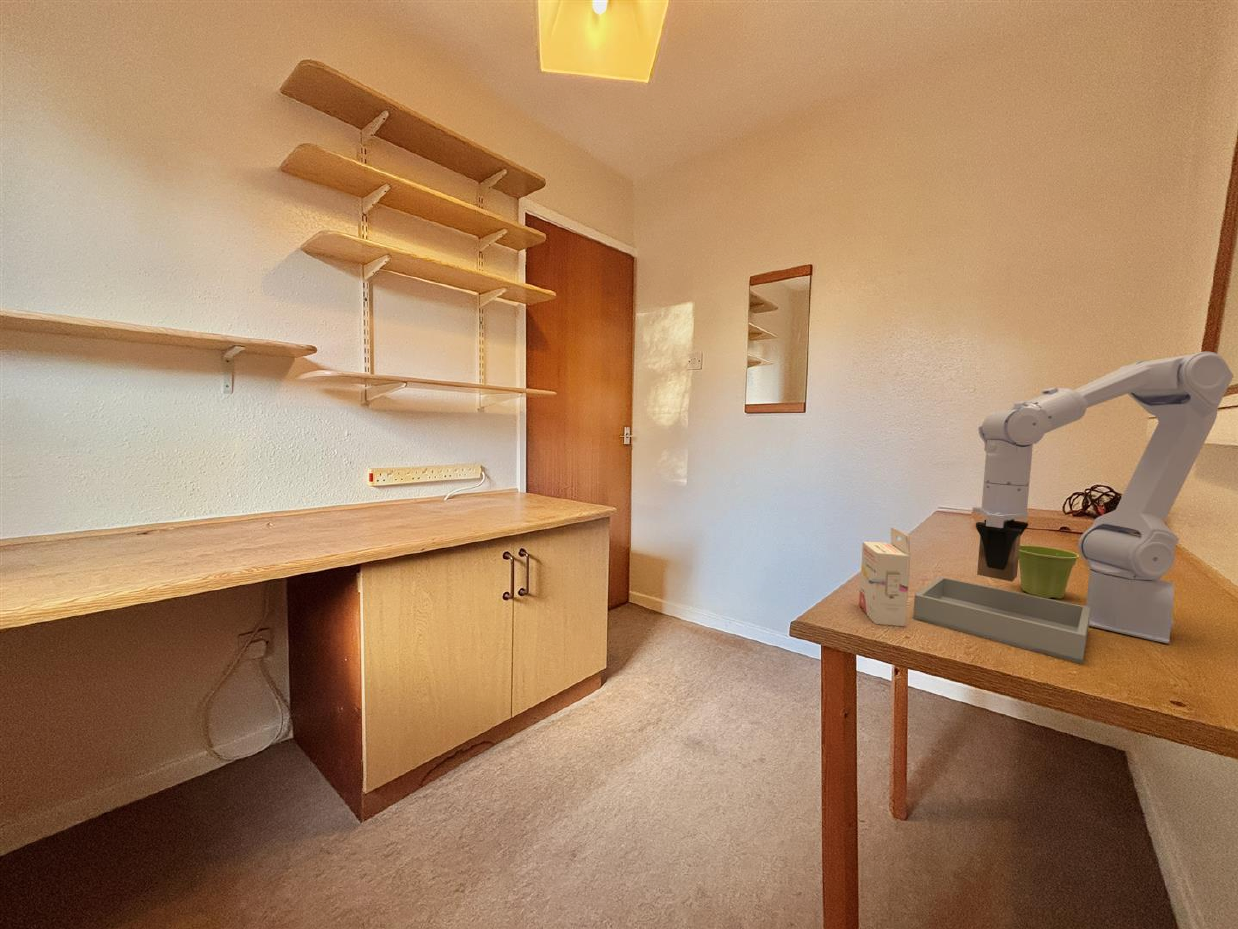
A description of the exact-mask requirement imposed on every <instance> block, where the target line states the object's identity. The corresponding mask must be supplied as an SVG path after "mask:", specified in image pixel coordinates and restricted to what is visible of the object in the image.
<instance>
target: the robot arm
mask: <svg viewBox="0 0 1238 929" xmlns="http://www.w3.org/2000/svg"><path fill="white" fill-rule="evenodd" d="M1233 379H1234V374H1233V373H1232V370H1231V369H1230V367H1229V365H1228V363H1227V362H1226V360H1225V359H1224V358H1223V356H1221V355H1220V354H1218V353H1216V352H1212V351H1199V352H1196V353H1193V354H1185V355H1179V356H1173V357H1172V356H1171V357H1165V358H1157V359H1151V360H1148V359H1147V360H1146V359H1145V360H1138V361H1136V362H1134V363H1132V364H1127V365H1123V366H1121V367H1120V368H1118V369H1117V370H1114V371H1112V372H1110V373H1107V374H1106V375H1103V376H1101V377H1099V378H1097V379H1095V380H1093V381H1090V382H1089V383H1086V384H1083V385H1081V386H1079V387H1078V388H1076V389H1071V388H1067V387H1059V388H1058V387H1049V388H1046V389H1042V390H1041V392H1042V394H1041V395H1039V396H1036V397H1034V398H1032V399H1029V400H1028V401H1027V400H1026V401H1025V400H1021V401H1020V400H1019V401H1017V402H1014V403H1013V407H1012V408H1011V409H1002V410H995V411H992V412H990V413H989V414H988V415H987V416H986V418H984V420H983V422H982V425H980V426H978V429H977V430H978V434H979V437H980V438H981V440H982V441H983V445H984V449H983V450H984V452H985V461H984V462H985V464H984V473H983V474H984V475H983V486H982V487H983V488H982V496H981V497H982V500H981V506H973V507H972V509H971V510H972V512H974V513H975V512H976V513H980V514H981V515H982V516H984V517H986V519H984V520H983V521H981V522H980V521H977V522H976V523H975V528H976V530H977V532H978V534H979V536H981V539H982V542H983V546H984V551H985V558H986V563H987V567H989V568H994V569H999V570H1004V569H1005V567H1006V565H1007V562H1008V559H1009V555H1010V551H1011V548H1012V546H1013V543H1014V541H1015V540H1016V538H1017V536H1018V535H1019V534H1021V536H1022V535H1023V533H1024V532H1025V531H1026V529H1027V528H1029V522H1027V521H1026V522H1025V521H1019V520H1023V519H1024V520H1025V519H1028V518H1029V512H1028V502H1029V493H1030V481H1031V479H1030V478H1031V472H1032V471H1031V468H1032V459H1033V458H1032V457H1033V449H1034V446H1033V445H1036V444H1038V443H1039V442H1040V441H1041V440H1042V439H1043V437H1044V436H1045V434H1047V433H1050V432H1052V431H1054V430H1057V429H1060V428H1063V427H1064V426H1067V425H1070V424H1072V423H1074V422H1077V421H1080V420H1081V419H1082V418H1084V416H1085V415H1086V411H1087V408H1090V407H1094V406H1097V405H1099V404H1102V403H1105V402H1108V401H1110V400H1114V399H1116V398H1118V397H1122V396H1124V395H1127V394H1128V396H1129V397H1131V399H1132V400H1134V401H1135V402H1136V403H1137V404H1138V405H1139V406H1140V407H1141V408H1143V409H1144V410H1145V411H1146V413H1148V414H1149V415H1151V416H1154V417H1155V418H1156V420H1157V421H1158V423H1157V425H1156V427H1155V429H1154V431H1153V432H1152V435H1151V437H1150V439H1149V441H1148V443H1147V445H1146V447H1145V449H1144V452H1143V453H1142V456H1141V457H1140V460H1139V462H1138V463H1137V465H1136V468H1135V470H1134V472H1133V473H1132V476H1131V478H1130V480H1129V482H1128V484H1127V486H1126V488H1125V489H1124V492H1123V494H1122V495H1121V498H1120V499H1119V502H1118V504H1117V506H1116V508H1115V509H1114V510H1112V511H1110V512H1108V513H1105V514H1103V515H1100V516H1098V517H1096V518H1095V519H1094V521H1093V524H1092V525H1091V526H1090V527H1089V528H1088V529H1087V530H1085V531H1084V532H1083V533H1081V535H1080V538H1079V539H1078V544H1077V548H1078V552H1079V555H1080V557H1082V558H1083V559H1084V560H1085V561H1086V565H1085V566H1086V567H1089V572H1088V573H1089V574H1088V582H1087V583H1088V584H1087V593H1086V604H1085V606H1086V607H1090V616H1089V626H1088V627H1092V628H1097V629H1101V630H1105V631H1106V630H1107V631H1111V632H1114V633H1118V634H1119V633H1120V634H1124V635H1127V636H1133V637H1137V638H1141V639H1145V640H1149V641H1154V642H1159V643H1163V644H1170V639H1171V638H1170V637H1171V631H1172V630H1173V629H1174V618H1173V610H1174V609H1173V608H1174V603H1175V602H1174V600H1175V583H1174V582H1172V581H1170V580H1164V579H1161V578H1162V577H1163V576H1165V575H1166V574H1167V573H1169V572H1170V571H1171V569H1172V568H1173V566H1174V563H1175V560H1176V559H1175V550H1176V547H1177V544H1178V542H1179V537H1178V536H1177V535H1176V533H1175V532H1173V531H1172V530H1171V528H1169V526H1168V525H1166V524H1165V522H1166V520H1167V517H1168V516H1169V514H1170V512H1171V510H1172V508H1173V506H1174V504H1175V502H1176V499H1177V498H1178V496H1179V494H1180V492H1181V490H1182V488H1183V486H1184V484H1185V482H1186V480H1187V478H1188V476H1189V475H1190V472H1191V470H1192V468H1193V466H1194V464H1195V462H1196V460H1197V458H1198V456H1199V454H1200V453H1201V450H1202V448H1203V446H1204V445H1205V443H1206V440H1207V438H1208V437H1209V435H1210V432H1211V431H1212V428H1213V427H1214V424H1215V423H1216V420H1217V416H1218V410H1219V406H1220V404H1221V402H1222V400H1223V398H1224V396H1225V394H1226V392H1227V390H1228V388H1229V386H1230V384H1231V383H1232V380H1233Z"/></svg>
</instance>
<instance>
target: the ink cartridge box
mask: <svg viewBox="0 0 1238 929" xmlns="http://www.w3.org/2000/svg"><path fill="white" fill-rule="evenodd" d="M898 537H900V539H901V540H902V541H900V540H899V539H898ZM890 540H891V542H878V541H865V540H864V541H862V548H861V549H862V550H861V568H860V569H861V570H860V585H859V598H858V599H859V600H858V606H859V605H860V606H861V607H862V608H863V609H862V608H861V607H860V606H859V607H860V608H861V609H862V610H863V612H864V611H865V612H864V613H865V614H866V613H867V614H866V615H867V617H868V616H869V617H868V618H869V619H870V620H871V619H872V620H871V621H873V622H874V623H873V622H872V623H873V624H874V625H884V626H894V627H906V626H907V612H908V598H909V597H908V595H909V580H910V568H911V566H910V564H911V547H910V546H911V545H910V544H911V542H910V536H909V535H908V534H907V533H904V532H903V531H902V530H900V529H897V528H895V527H894V526H891V527H890Z"/></svg>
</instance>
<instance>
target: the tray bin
mask: <svg viewBox="0 0 1238 929" xmlns="http://www.w3.org/2000/svg"><path fill="white" fill-rule="evenodd" d="M913 600H914V602H913V603H914V604H913V613H912V614H913V616H912V618H913V619H914V620H917V621H922V622H924V623H928V624H932V625H935V626H940V627H943V628H947V629H951V630H955V631H958V632H962V633H965V634H968V635H973V636H976V637H980V638H984V639H986V640H991V641H994V642H999V643H1002V644H1005V645H1009V646H1013V647H1017V648H1020V649H1024V650H1027V651H1031V652H1034V653H1039V654H1042V655H1046V656H1050V657H1054V658H1057V659H1061V660H1064V661H1068V662H1073V663H1075V664H1080V665H1083V664H1084V656H1085V653H1086V652H1085V651H1086V646H1087V640H1088V635H1089V634H1088V633H1089V627H1090V626H1089V616H1090V607H1086V605H1081V604H1076V603H1072V602H1071V603H1070V602H1067V601H1060V600H1056V599H1051V598H1043V597H1039V596H1034V595H1031V594H1029V593H1022V592H1018V591H1012V590H1007V589H1004V588H998V587H993V586H988V585H983V584H980V583H979V584H978V583H975V582H969V581H965V580H964V581H963V580H959V579H953V578H950V577H945V576H939V577H937V578H935V580H933V581H932V582H930V583H929V584H927V586H925V587H923V588H922V589H921V590H920V591H918V592H917V593H915V594H914V598H913Z"/></svg>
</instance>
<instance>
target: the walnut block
mask: <svg viewBox="0 0 1238 929" xmlns="http://www.w3.org/2000/svg"><path fill="white" fill-rule="evenodd" d="M979 536H980V535H979ZM1021 537H1022V535H1021V534H1019V535H1018V536H1017V538H1016V540H1015V541H1014V543H1013V546H1012V548H1011V551H1010V555H1009V559H1008V562H1007V565H1006V567H1005V569H1004V570H999V569H994V568H989V567H987V563H986V558H985V551H984V546H983V542H982V539H981V536H980V537H979V547H978V558H977V559H978V560H977V571H976V575H977V576H980V577H987V578H991V579H997V580H1002V581H1006V582H1012V583H1013V582H1014V581H1015V579H1017V577H1018V568H1019V548H1020V545H1021Z"/></svg>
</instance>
